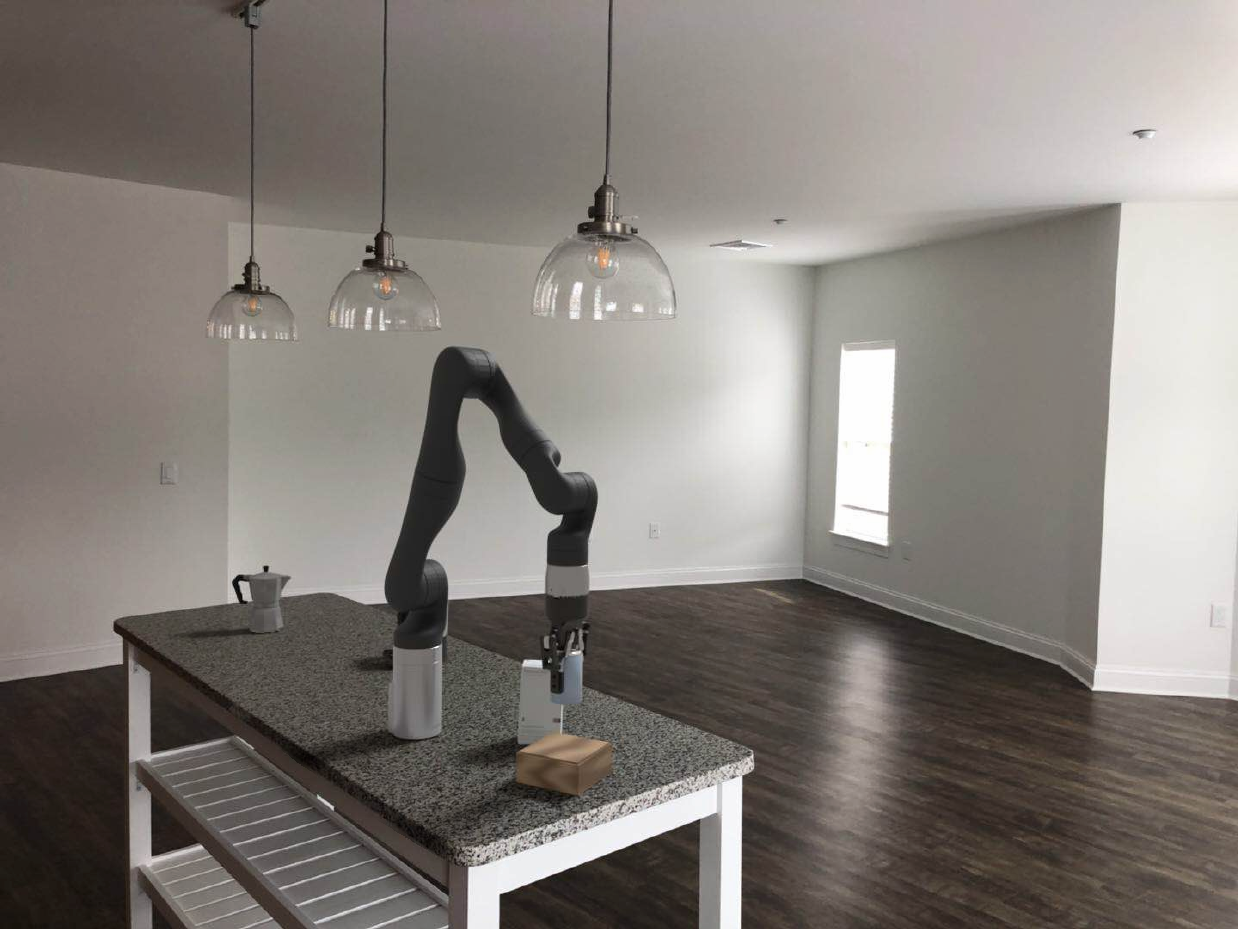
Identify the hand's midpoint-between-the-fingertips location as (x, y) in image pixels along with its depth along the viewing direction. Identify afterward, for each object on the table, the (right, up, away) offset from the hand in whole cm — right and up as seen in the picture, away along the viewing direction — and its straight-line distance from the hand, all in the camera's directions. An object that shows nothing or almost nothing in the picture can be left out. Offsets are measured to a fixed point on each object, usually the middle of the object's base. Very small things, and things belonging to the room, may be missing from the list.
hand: (565, 688), depth 167 cm
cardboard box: (0, -15, +1) cm, 15 cm away
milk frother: (-41, -11, +74) cm, 85 cm away
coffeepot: (-90, -8, +104) cm, 138 cm away
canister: (0, -2, 0) cm, 2 cm away
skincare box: (-6, -14, +19) cm, 25 cm away
